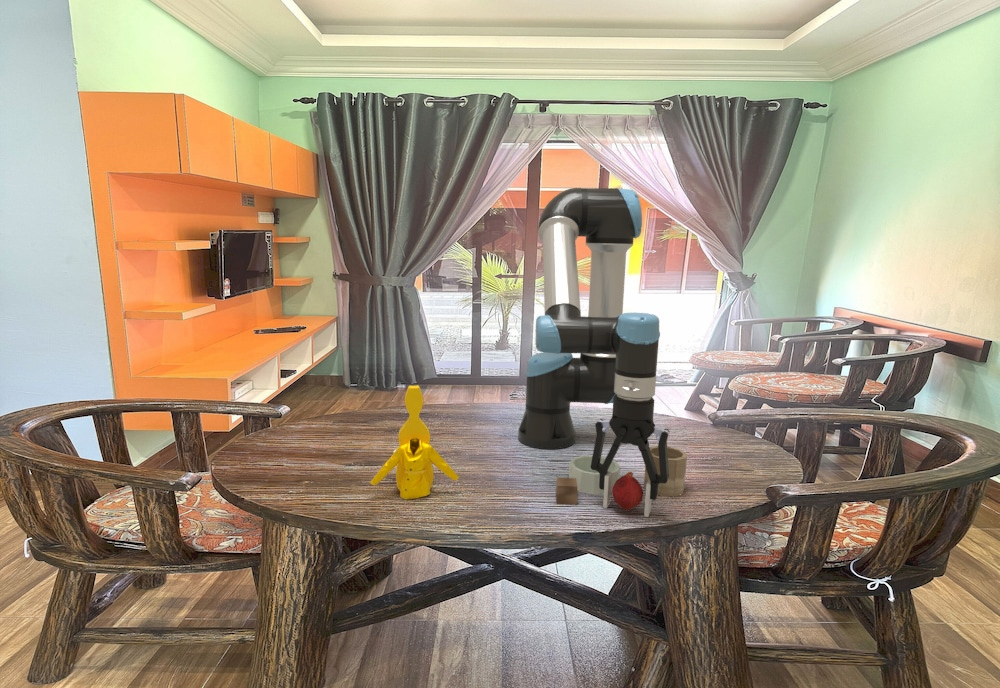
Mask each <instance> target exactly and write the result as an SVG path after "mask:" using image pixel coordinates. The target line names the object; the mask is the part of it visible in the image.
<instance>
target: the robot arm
mask: <svg viewBox="0 0 1000 688" xmlns="http://www.w3.org/2000/svg"><path fill="white" fill-rule="evenodd" d="M641 204H642V203H641V201H640V197H639V195H638V194H637V192H636V191H634V190H633V189H629V188H628V189H626V188H618V187H615V188H612V187H611V188H607V187H606V188H604V187H603V188H600V187H599V188H593V187H592V188H591V187H589V188H588V187H587V188H586V187H583V188H582V187H573V188H572V187H571V188H569V189H565V190H563V191H561V192H559V193H558V194H557V195H556V196H554V197H553V198H552V199H551V200H550V201H548V203H547V204H546V206H545V207H544V209H543V210H542V213H541V215H540V217H539V222H538V227H537V228H538V229H537V230H538V233H537V234H538V238H539V240H540V242H541V243H542V255H543V256H542V257H543V258H542V259H543V260H542V261H543V295H544V296H543V298H544V300H543V302H544V307H543V308H544V315H539V316H537V317H536V318H535V319H536V321H535V348H536V350H537V351H538V352H539V353H535V354H533V355H531V356H530V357H529V358H528V359H527V364H526V372H525V376H526V388H525V389H526V390H525V411H524V413H523V416H522V419H521V421H520V424H519V427H518V432H517V437H518V439H517V440H518V441H519V442H520V443H522V444H523V445H526V446H528V447H531V448H535V449H536V448H537V449H545V450H551V449H552V450H556V449H564V448H567V447H570V446H572V445H574V444H575V442H576V430H575V427H574V423H573V421H572V420H573V419H572V416H571V411H570V410H571V408H570V407H571V403H583V404H586V403H588V404H589V403H590V404H605V405H608V404H612V414H611V415H612V416H611V418H610V420H609V419H607V420H605V419H602V418H599V420H598V421H597V422H596V423H595V424H594V425H595V426H594V427H595V432H596V436H595V442H594V447H593V448H594V449H593V451H592V455H591V456H592V462H591V469H592V470H596V471H598V472H599V474H600V479H599V488H600V489H602V490H604V495H603V503H602V504H603V505H602V508H604V509H607V508H608V507H609V505H610V504H611V496H612V493H611V480H612V472H610V471H608V469H609V467H610V465H611V463H612V461H613V460H614V458H615V457H616V455H617V453H618V450H620V449H619V448H620V447H621V445H622V444H624V445H626V444H627V445H628V444H631V445H633V446H637V447H638V450H639V451H640V454H641V458H642V460H643V463H644V466H646V470H647V473H648V476H649V480H648V482H647V484H646V488H645V497H644V498H645V500H644V512H643V513H644V514H643V515H644V516H643V517H645V518H649V516H650V514H651V511H652V500H653V501H655V500H657V498H658V496H659V495H658V484H659V483H667V481H668V478H669V466H668V451H667V446H668V439H669V435H670V430H669V429H668V428H664V429H662V428H659V427H657V426H656V423H654V411H655V399H654V398H653V397H654V396H655V395H656V385H657V383H656V381H657V368H658V367H657V365H658V355H659V342H660V337H661V332H660V318H659V317H658V316H657V315H656V314H651V313H646V312H625V313H624V298H625V297H624V296H625V294H624V293H625V280H626V261H627V252H628V251H629V250H630V248H632V247H633V246H634V239H637V238H640V236H641V233H642V227H643V214H642V213H643V212H642V207H641V206H642V205H641ZM579 237H585V245H586V246H587V247H588V249H589V250H590V257H591V258H590V275H589V294H588V295H589V296H588V297H589V298H588V314H587V316H582V314H581V313H582V311H581V310H582V309H581V298H580V297H581V296H580V285H579V273H578V271H579V269H578V260H577V248H576V247H577V245H576V241H577V239H578V238H579ZM573 354H580V356H579V357H574V356H573ZM609 428H611V430H612V431H613V433H614V435H615V438H614V440H613V442H612V444H611V447H610V449H609V450H608V452H607V455H606V459H605V461H604V463H603V464H601V463H600V460H601V457H602V455H603V449H604V445H605V443H604V442H605V439H606V432H608V430H609ZM652 434H654V435H655V440H656V441H657V442H658V444H657V446H658V450H659V464H660V474H659V475H658V472H657V469H656V466H655V463H654V460H653V457H652V453H651V450H650V442H649V438H650V436H652Z"/></svg>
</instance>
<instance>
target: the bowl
mask: <svg viewBox="0 0 1000 688" xmlns="http://www.w3.org/2000/svg"><path fill="white" fill-rule="evenodd" d="M592 456H593V455H580V456H577V457H573V458H572V459H571V460H570V461H569V469H568V470H569V471H568V478H576V480H577V486H578V488H577V492H580V493H583V494H587V495H591V496H599V495H600V496H604V490H602V489H600V488H599V479H600V474H599V472H598V471H596V470H592V469H591V462H592ZM606 457H607V456H606ZM606 457H605V456H601V460H600V463H601V464H603V463H604V461H605V459H606ZM608 471H610V472H612V480H611V494H612V489H613V486H614V484H615V482H616V481H617V480H618V479H619V478H620V477H621V466H620V464H619V463H618V461H615V460H614V459H613V461H612V463H611V465H610V467H609V469H608Z"/></svg>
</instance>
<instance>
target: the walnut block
mask: <svg viewBox="0 0 1000 688" xmlns="http://www.w3.org/2000/svg"><path fill="white" fill-rule="evenodd" d="M555 484H556V485H555V502H556V505H566V506H567V505H568V506H569V505H570V506H577V504H578V491H577V488H578V486H577V480H576V478H569V477H559V476H558V477H557V476H556V483H555Z"/></svg>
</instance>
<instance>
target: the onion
mask: <svg viewBox="0 0 1000 688" xmlns="http://www.w3.org/2000/svg"><path fill="white" fill-rule="evenodd" d="M611 496H612V498H613V501H614V503H615V504H616V505H617V506H618V507H619V508H621V509H622V510H624V511H625V512H629V511H631V510H632V509H634V508H636V507H638V506H639V505H640V504H641V502H642V501H643V498H644V489H643V487H642V485H641V483H640V482H639V481H638V479H637V478H635V477H634V473H633V472H632V471H628V472H627V473H626V474H625V475H622V476H620V478H619V479H618V480H617V481H616V482H615V484H614V486H613V489H612V493H611Z"/></svg>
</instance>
